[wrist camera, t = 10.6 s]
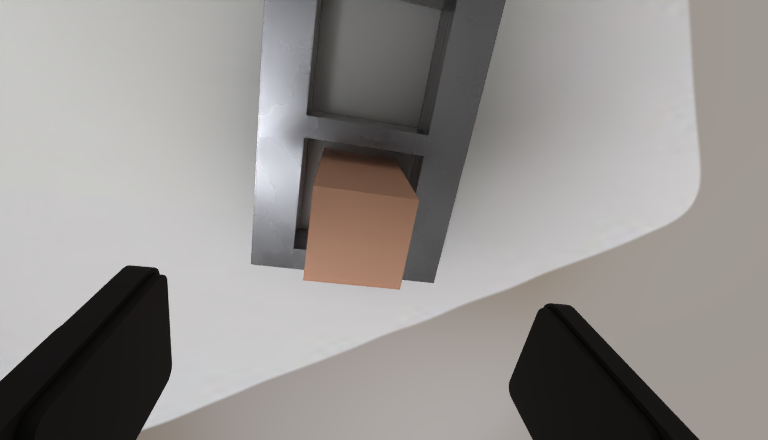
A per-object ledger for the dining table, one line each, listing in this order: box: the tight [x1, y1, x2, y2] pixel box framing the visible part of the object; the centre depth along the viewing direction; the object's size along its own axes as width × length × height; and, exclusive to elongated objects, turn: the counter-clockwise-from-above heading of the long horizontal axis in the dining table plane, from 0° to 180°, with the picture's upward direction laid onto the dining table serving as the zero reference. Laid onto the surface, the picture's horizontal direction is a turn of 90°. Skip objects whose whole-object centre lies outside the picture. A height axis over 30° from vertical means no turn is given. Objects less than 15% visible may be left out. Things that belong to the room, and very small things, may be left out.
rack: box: [251, 0, 506, 283], centre depth 19 cm, size 24×11×3 cm, turn 170°
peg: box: [303, 148, 419, 290], centre depth 19 cm, size 4×4×8 cm
